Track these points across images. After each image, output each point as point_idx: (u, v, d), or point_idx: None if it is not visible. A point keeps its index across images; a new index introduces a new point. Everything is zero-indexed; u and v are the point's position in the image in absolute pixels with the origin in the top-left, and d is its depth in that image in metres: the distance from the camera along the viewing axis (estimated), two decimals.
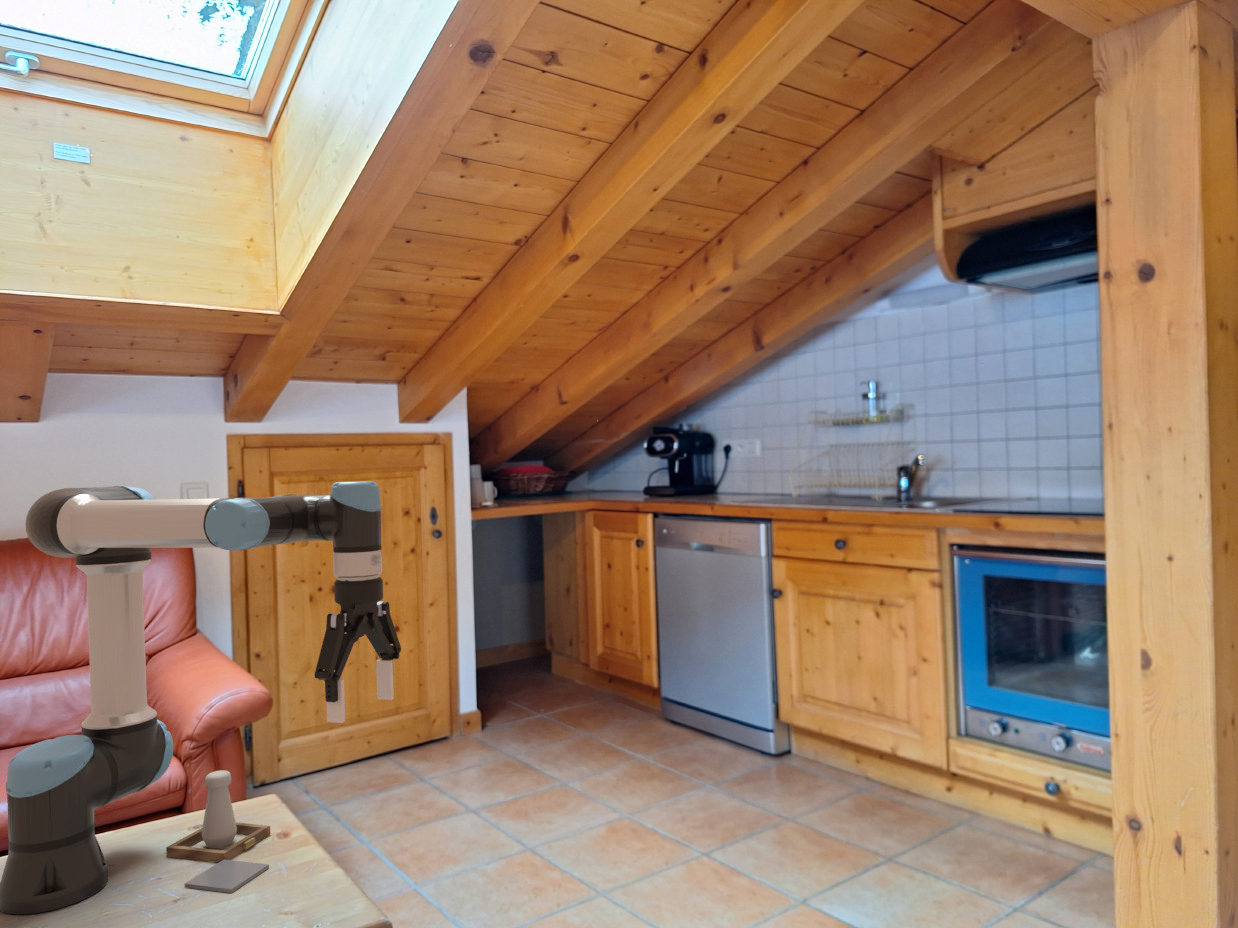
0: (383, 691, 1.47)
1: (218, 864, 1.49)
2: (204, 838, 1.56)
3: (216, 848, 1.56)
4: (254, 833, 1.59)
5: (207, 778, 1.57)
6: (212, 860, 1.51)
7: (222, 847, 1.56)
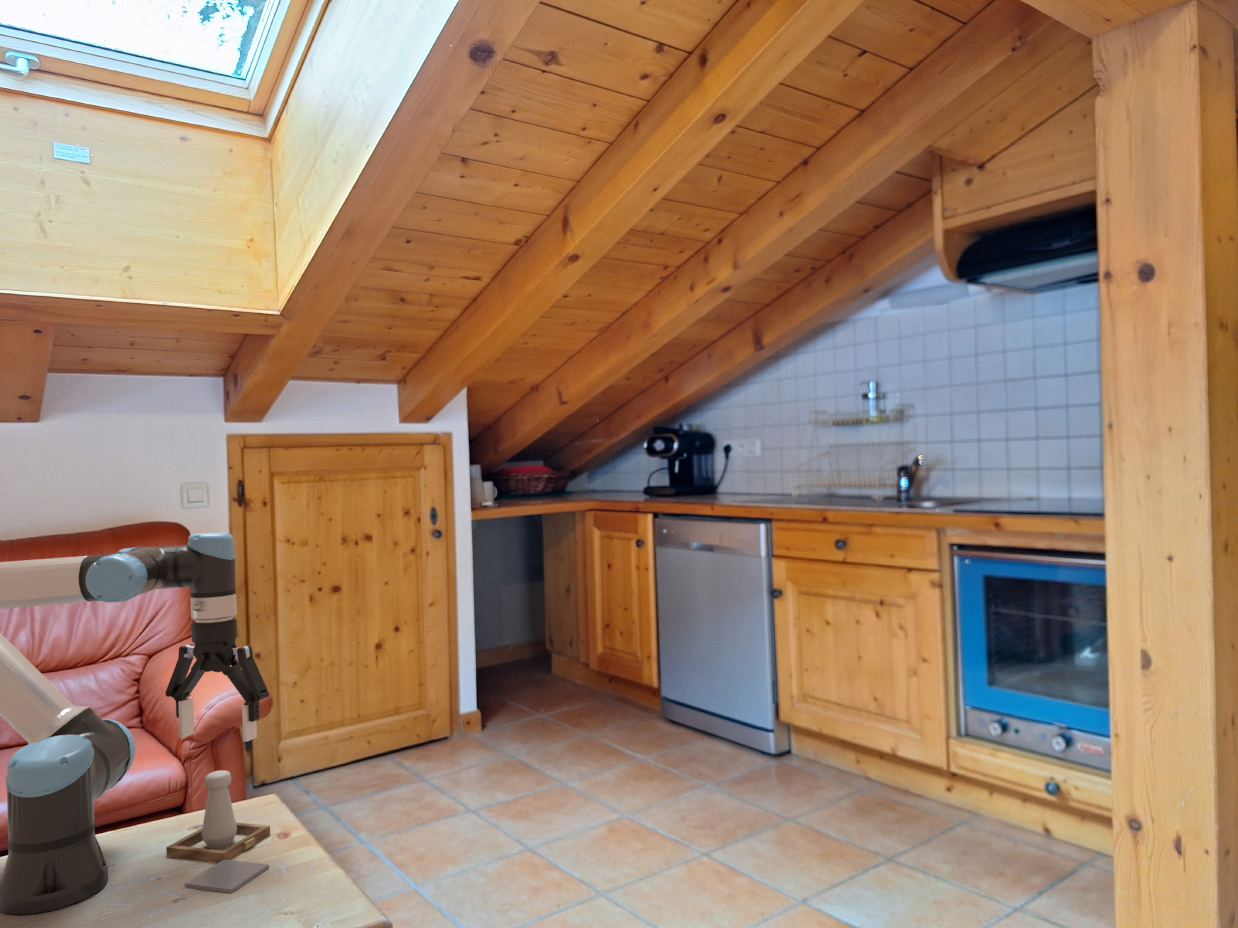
0: None
1: (218, 864, 1.49)
2: (204, 838, 1.56)
3: (216, 848, 1.56)
4: (254, 833, 1.59)
5: (207, 778, 1.57)
6: (212, 860, 1.51)
7: (222, 847, 1.56)
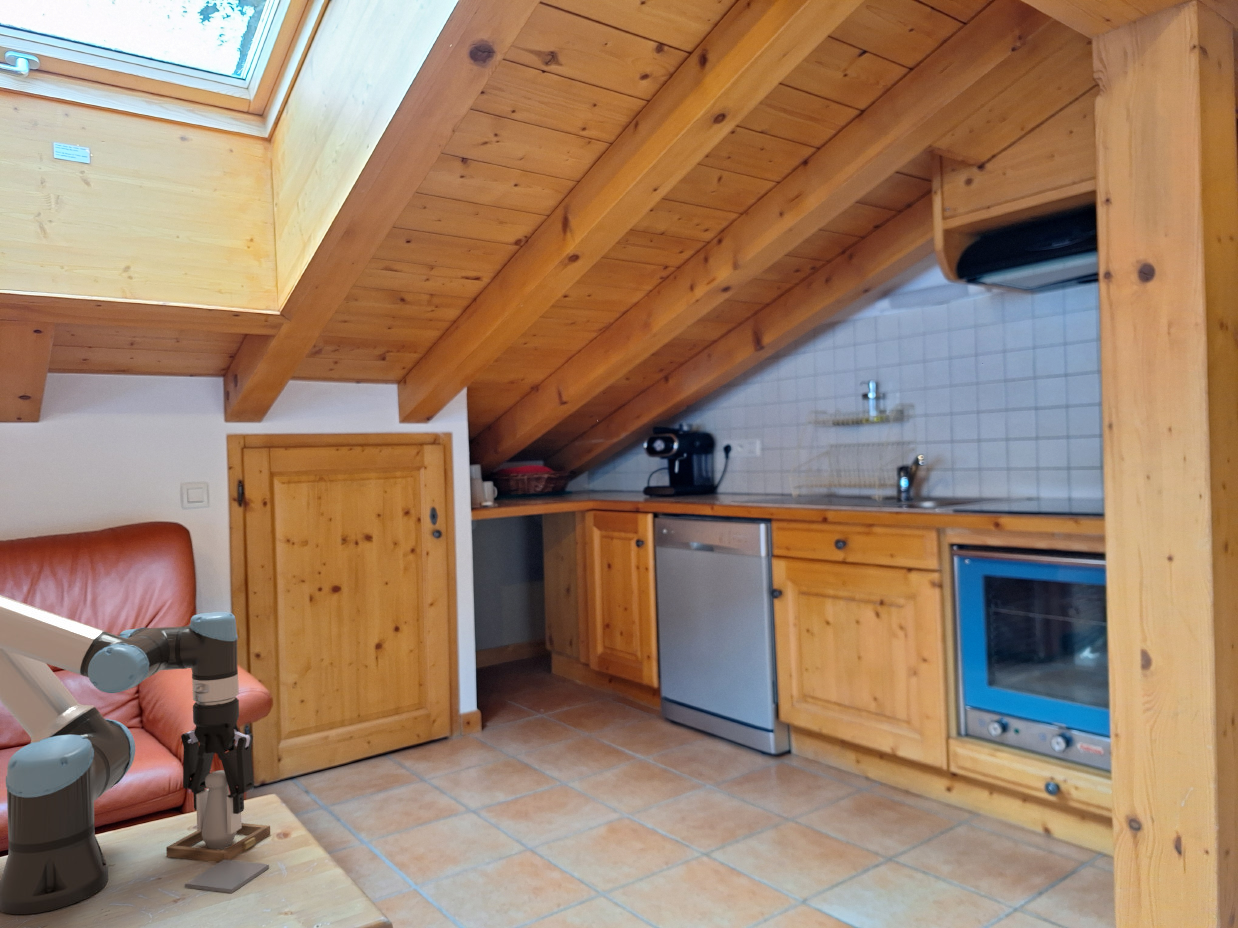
0: None
1: (218, 864, 1.49)
2: (204, 838, 1.56)
3: (216, 848, 1.56)
4: (254, 833, 1.59)
5: (207, 778, 1.57)
6: (212, 860, 1.51)
7: (222, 847, 1.56)
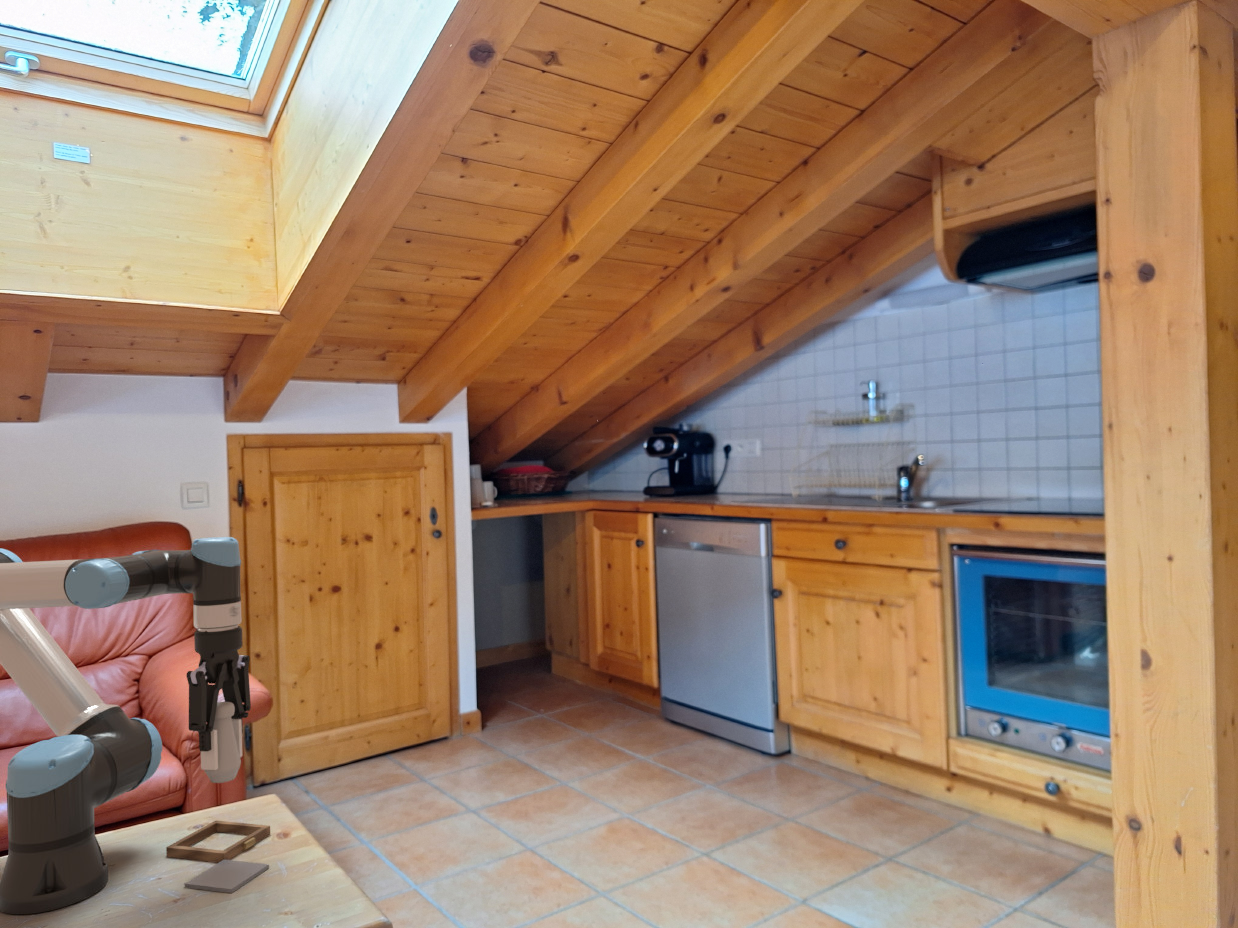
0: None
1: (218, 864, 1.49)
2: (233, 768, 1.50)
3: (235, 776, 1.52)
4: (254, 833, 1.59)
5: (227, 707, 1.51)
6: (212, 860, 1.51)
7: (235, 774, 1.53)
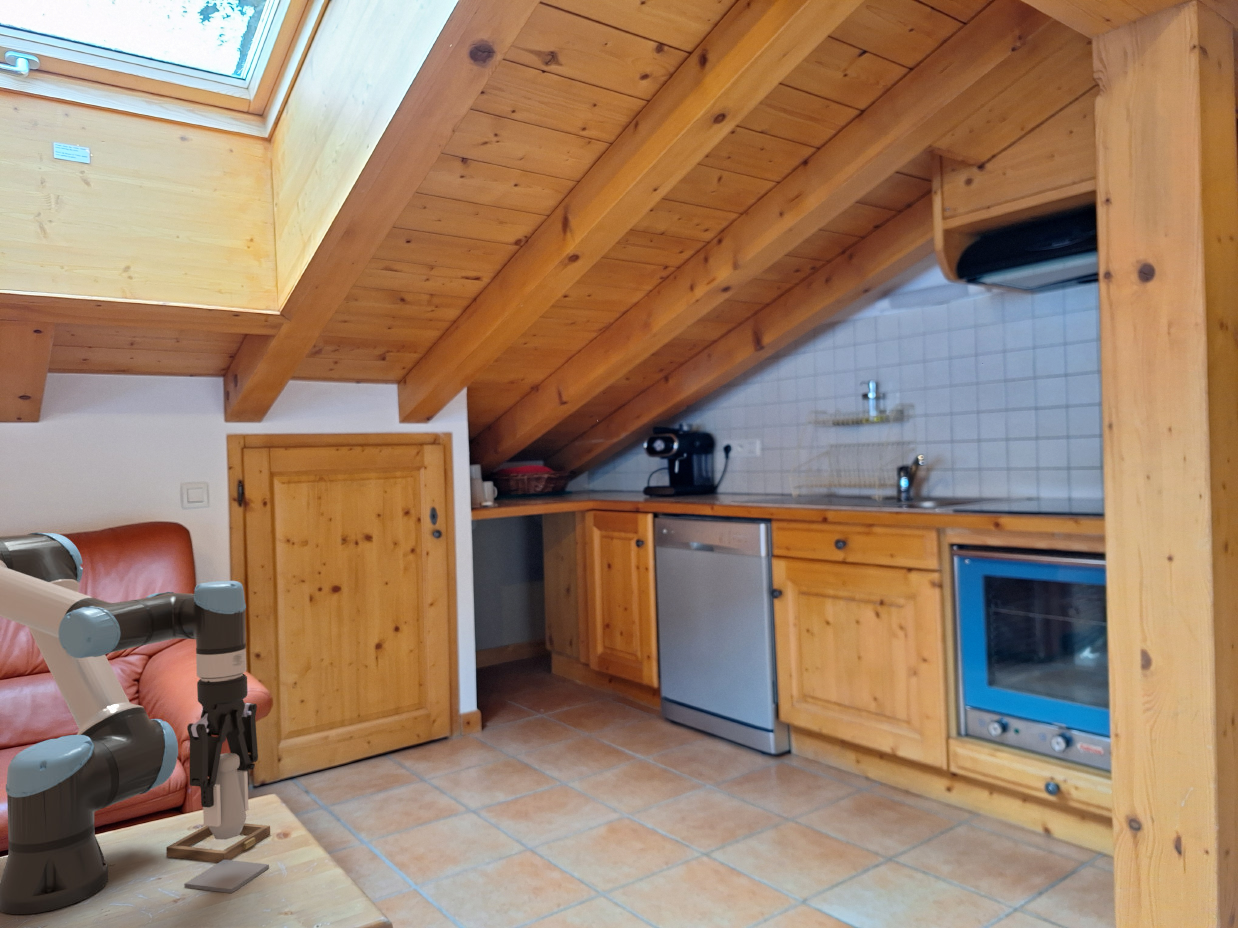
0: None
1: (218, 864, 1.49)
2: (237, 824, 1.43)
3: (240, 831, 1.45)
4: (254, 833, 1.59)
5: (231, 760, 1.44)
6: (212, 860, 1.51)
7: (241, 829, 1.46)
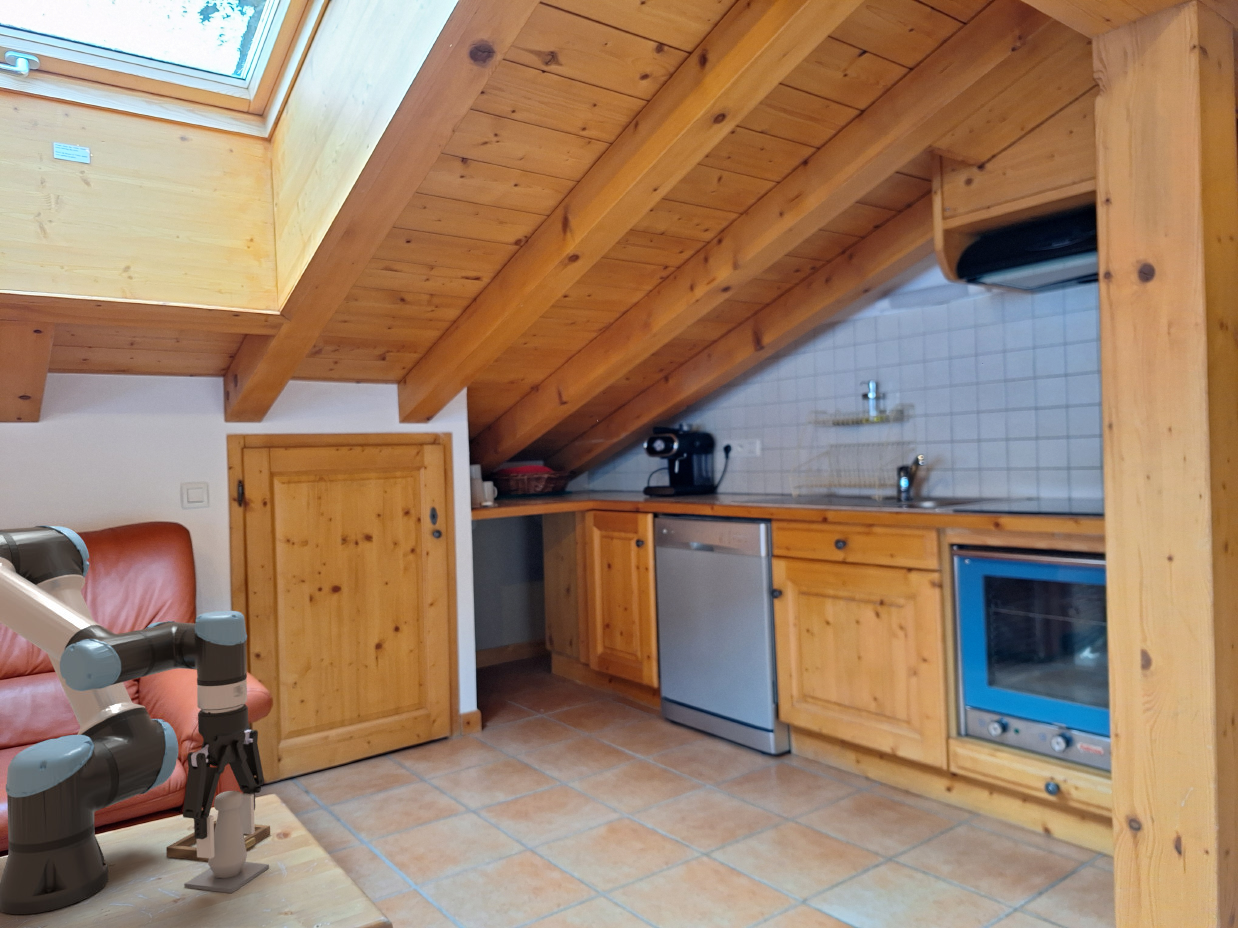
0: (244, 825, 1.49)
1: None
2: (237, 863, 1.43)
3: (240, 870, 1.45)
4: (254, 833, 1.59)
5: (234, 798, 1.44)
6: None
7: None
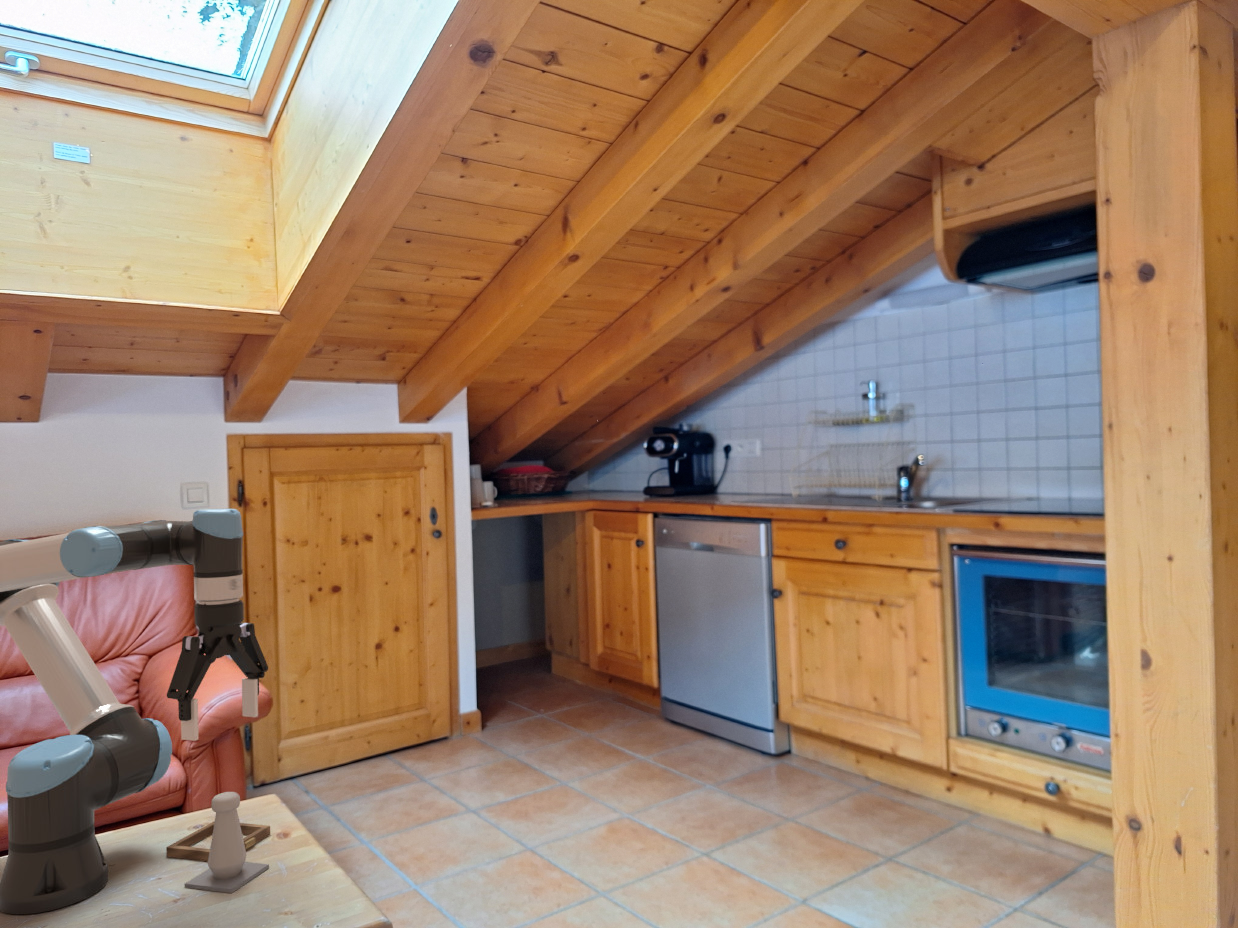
0: (248, 709, 1.54)
1: None
2: (237, 864, 1.43)
3: (240, 870, 1.45)
4: (254, 833, 1.59)
5: (231, 799, 1.44)
6: None
7: None
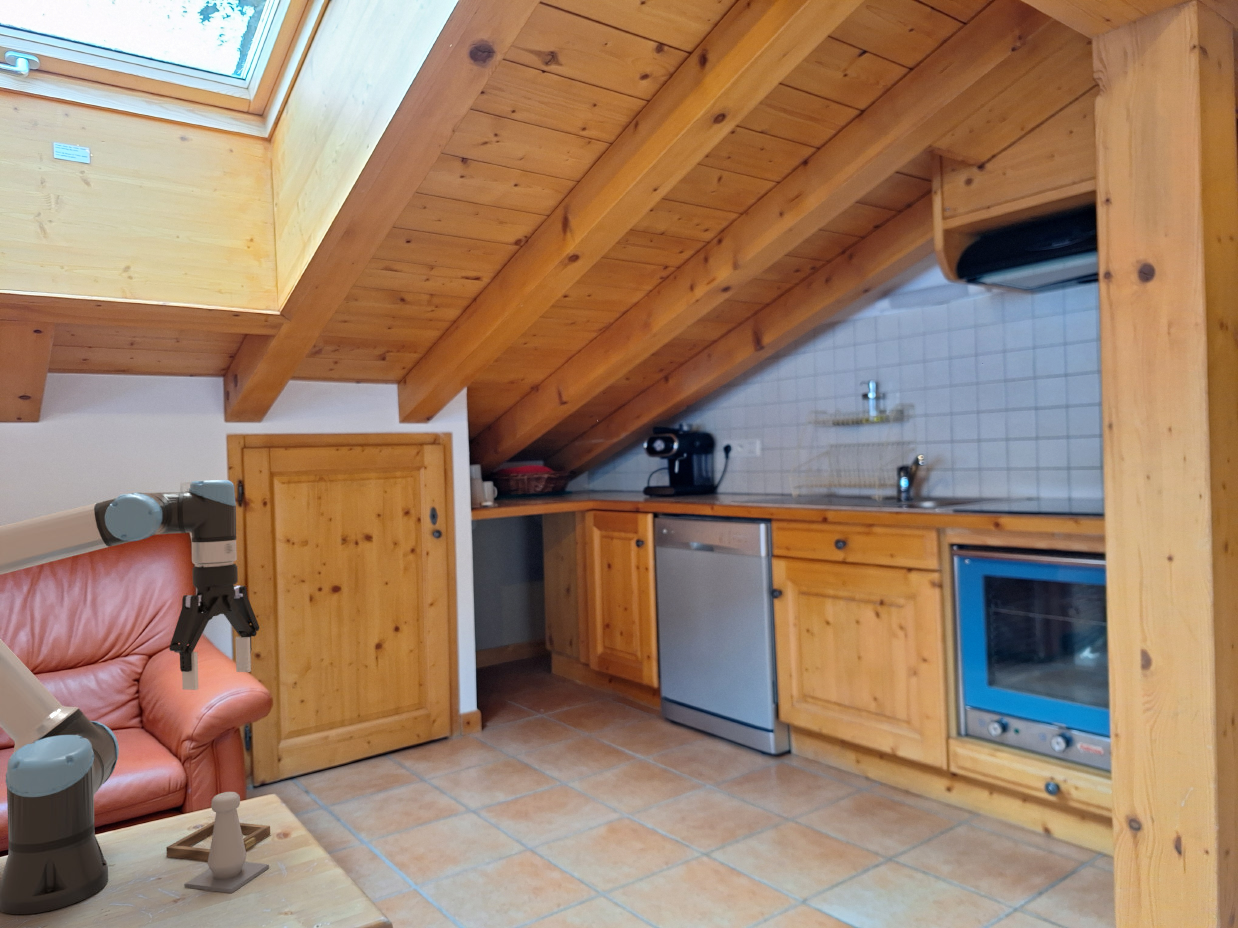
0: (241, 665, 1.68)
1: None
2: (237, 864, 1.43)
3: (240, 870, 1.45)
4: (254, 833, 1.59)
5: (231, 799, 1.44)
6: None
7: None
